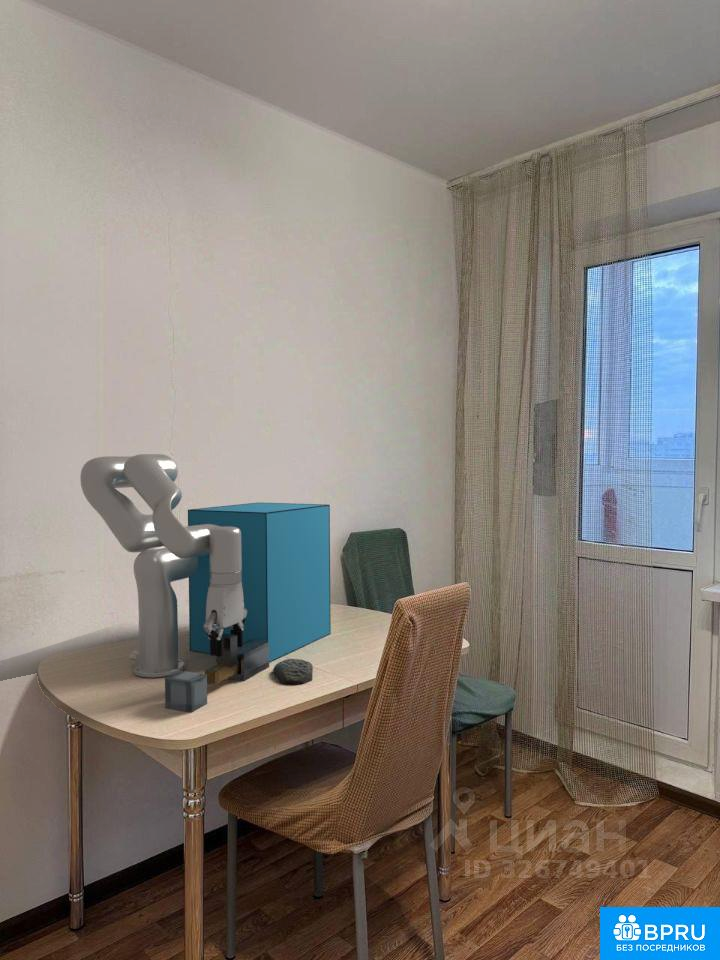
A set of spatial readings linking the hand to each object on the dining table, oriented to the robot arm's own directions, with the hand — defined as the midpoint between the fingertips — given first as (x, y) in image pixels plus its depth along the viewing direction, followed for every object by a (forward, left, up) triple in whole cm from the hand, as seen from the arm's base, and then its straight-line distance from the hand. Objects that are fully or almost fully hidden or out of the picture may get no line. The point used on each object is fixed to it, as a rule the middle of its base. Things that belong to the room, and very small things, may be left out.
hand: (226, 650), depth 161 cm
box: (-11, +35, -8) cm, 38 cm away
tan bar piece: (0, +4, -6) cm, 7 cm away
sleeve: (0, +9, -8) cm, 12 cm away
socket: (0, -16, -8) cm, 18 cm away
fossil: (+12, +11, -9) cm, 18 cm away
